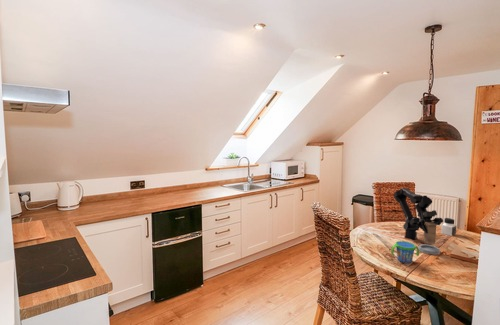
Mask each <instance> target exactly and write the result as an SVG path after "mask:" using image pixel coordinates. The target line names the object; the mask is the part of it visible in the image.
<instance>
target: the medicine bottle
mask: <svg viewBox="0 0 500 325" xmlns="http://www.w3.org/2000/svg"><path fill="white" fill-rule="evenodd" d="M440 232H441V234H442V235H446V236H449V237H453V236H456V234H457V225H456V224H455V219H454V218H451V217H445V218H444V219H443V224H442V223H441V231H440Z"/></svg>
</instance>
